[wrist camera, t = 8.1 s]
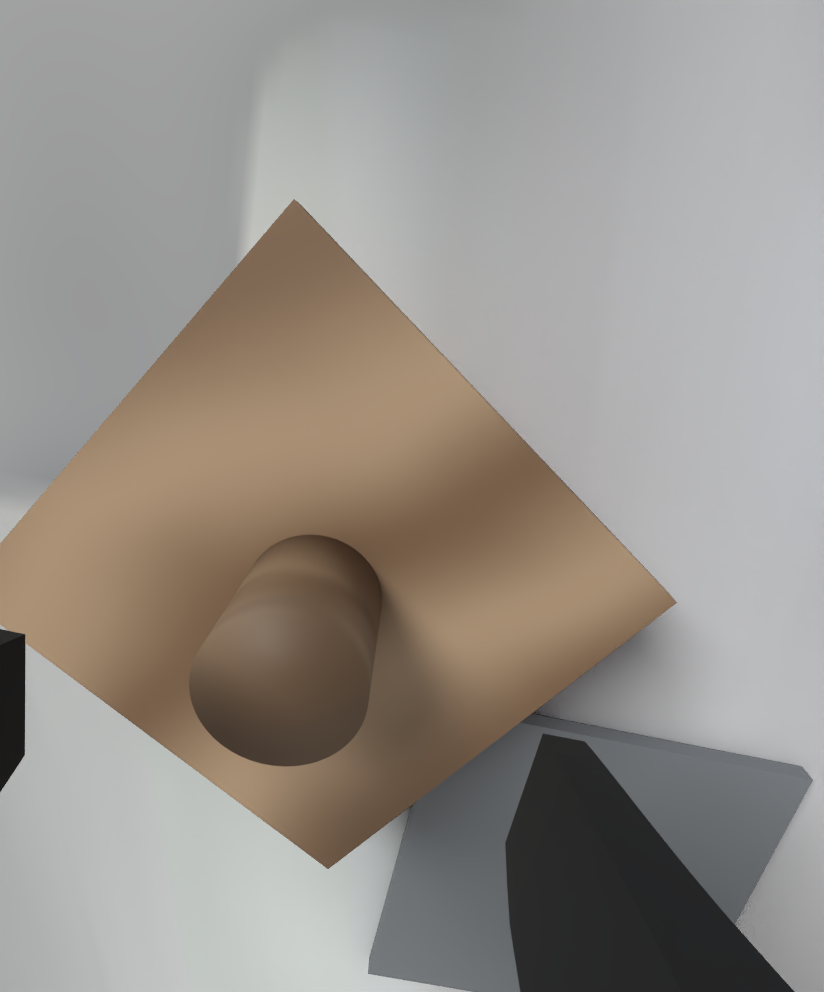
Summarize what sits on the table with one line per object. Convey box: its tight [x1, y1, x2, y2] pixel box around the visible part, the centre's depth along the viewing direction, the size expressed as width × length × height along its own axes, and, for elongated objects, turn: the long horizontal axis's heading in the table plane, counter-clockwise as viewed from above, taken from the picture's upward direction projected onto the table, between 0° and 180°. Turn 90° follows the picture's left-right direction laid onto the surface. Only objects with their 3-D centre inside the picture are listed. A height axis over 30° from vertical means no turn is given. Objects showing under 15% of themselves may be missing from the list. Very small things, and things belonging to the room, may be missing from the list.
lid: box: [0, 200, 677, 869], centre depth 13 cm, size 12×12×4 cm
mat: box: [368, 714, 813, 992], centre depth 22 cm, size 13×13×1 cm
